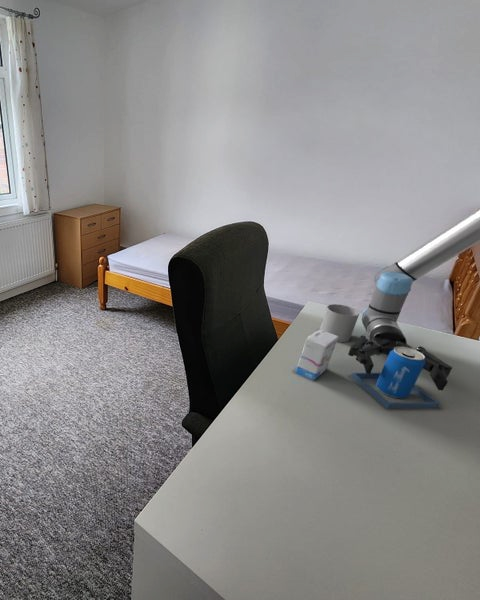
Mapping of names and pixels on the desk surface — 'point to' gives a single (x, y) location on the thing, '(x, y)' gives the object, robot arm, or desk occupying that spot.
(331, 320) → the cup
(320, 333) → the ink box
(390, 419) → the desk surface
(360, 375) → the rectangular frame
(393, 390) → the beverage can
